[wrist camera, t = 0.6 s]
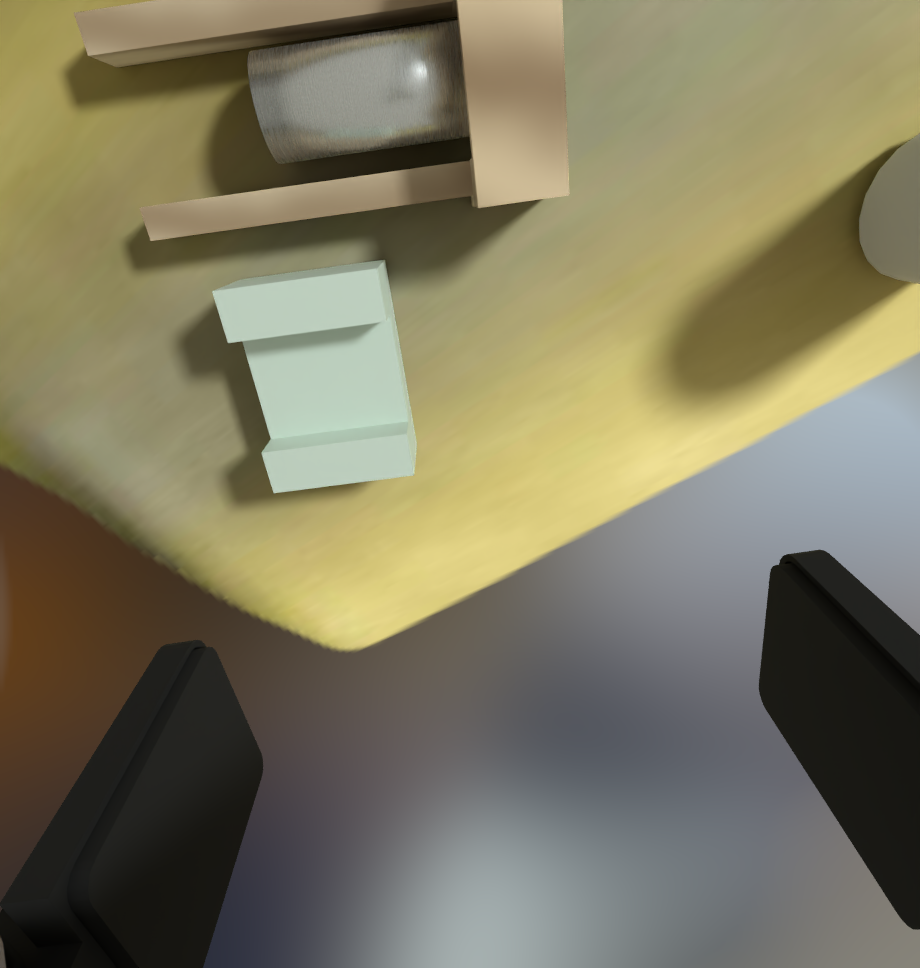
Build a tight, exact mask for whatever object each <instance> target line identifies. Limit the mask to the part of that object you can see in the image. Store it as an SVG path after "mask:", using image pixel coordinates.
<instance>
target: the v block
mask: <svg viewBox="0 0 920 968" xmlns="http://www.w3.org/2000/svg"><path fill="white" fill-rule="evenodd" d="M212 292H213V296H214V299H215V302H216V305H217V309H218V312H219V315H220V319H221V322H222V325H223V328H224V332H225V335H226V338H227V342H228V343H233V342H240V341H242V342H243V345H244V349H245V352H246V356H247V359H248V363H249V366H250V369H251V373H252V376H253V380H254V383H255V386H256V390H257V393H258V397H259V400H260V404H261V407H262V410H263V414H264V417H265V421H266V424H267V427H268V431H269V434H270V438H271V440H270V441H269V443H268V444H267V446H266V447H265V448H264V450H263V451H262V457H263V460H264V463H265V466H266V470H267V473H268V476H269V480H270V483H271V486H272V489H273V493H280V492H288V491H295V490H303V489H311V488H319V487H327V486H334V485H342V484H350V483H358V482H366V481H373V480H381V479H389V478H397V477H404V476H412V475H414V471H415V460H416V449H417V442H416V437H415V431H414V425H413V419H412V413H411V408H410V402H409V396H408V390H407V384H406V379H405V373H404V367H403V361H402V355H401V350H400V344H399V338H398V332H397V326H396V321H395V315H394V309H393V303H392V297H391V291H390V286H389V280H388V274H387V268H386V262H385V259H384V260H377V261H370V262H363V263H356V264H348V265H341V266H334V267H327V268H319V269H312V270H305V271H298V272H291V273H283V274H276V275H269V276H262V277H255V278H247V279H241V280H238V281H236V282H233V283H231V284H229V285H226V286H224V287H221V288H219V289H216V290H214V291H212Z"/></svg>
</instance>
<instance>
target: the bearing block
mask: <svg viewBox="0 0 920 968" xmlns="http://www.w3.org/2000/svg"><path fill="white" fill-rule="evenodd" d="M74 15H75V18H76V21H77V24H78V27H79V30H80V33H81V36H82V39H83V42H84V45H85V48H86V51H87V54H88V56H90V57H92V58H95V59H97V60H100V61H102V62H105V63H107V64H110V65H112V66H114V67H124V66H130V65H137V64H144V63H150V62H157V61H164V60H171V59H177V58H184V57H191V56H197V55H204V54H211V53H217V52H224V51H231V50H238V49H244V48H251V47H258V46H264V45H271V44H278V43H284V42H291V41H298V40H305V39H311V38H318V37H325V36H331V35H338V34H345V33H351V32H358V31H365V30H372V29H378V28H385V27H392V26H398V25H405V24H412V23H418V22H425V21H432V20H439V19H445V18H452V17H458V26H459V35H460V45H461V55H462V65H463V75H464V85H465V94H466V104H467V114H468V124H469V134H470V143H471V153H472V158H471V159H470V160H469V161H462V162H455V163H448V164H441V165H434V166H427V167H420V168H413V169H406V170H399V171H392V172H385V173H378V174H371V175H364V176H357V177H350V178H343V179H336V180H329V181H322V182H315V183H308V184H301V185H294V186H287V187H280V188H273V189H266V190H259V191H252V192H245V193H238V194H231V195H224V196H217V197H210V198H203V199H196V200H189V201H182V202H175V203H168V204H161V205H154V206H147V207H140V211H141V214H142V217H143V220H144V223H145V226H146V229H147V231H148V234H149V237H150V240H151V241H155V240H162V239H169V238H176V237H183V236H190V235H197V234H204V233H211V232H218V231H226V230H233V229H240V228H247V227H254V226H261V225H268V224H275V223H282V222H289V221H296V220H304V219H311V218H318V217H325V216H332V215H339V214H346V213H353V212H360V211H367V210H375V209H382V208H389V207H396V206H403V205H410V204H417V203H424V202H431V201H438V200H446V199H453V198H460V197H467V196H471V205H472V206H473V207H476V208H482V207H489V206H496V205H503V204H510V203H518V202H525V201H532V200H539V199H546V198H553V197H560V196H567V195H569V170H568V143H567V116H566V89H565V62H564V35H563V9H562V0H155V1H148V2H142V3H135V4H129V5H122V6H115V7H109V8H102V9H96V10H89V11H83V12H76V13H74Z"/></svg>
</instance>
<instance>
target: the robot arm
mask: <svg viewBox="0 0 920 968" xmlns="http://www.w3.org/2000/svg"><path fill="white" fill-rule="evenodd" d="M759 692H760V696H761V700H762V702H763V705H764V707H765V709H766V710H767V712H768V713H769V715H770V716H771V718H772V720H773V721H774V722H775V724H776V726H777V727H778V729H779V730H780V732H781V734H782V735H783V737H784V738H785V739H786V741H787V743H788V744H789V746H790V748H791V749H792V751H793V752H794V754H795V755H796V757H797V758H798V760H799V761H800V763H801V765H802V766H803V768H804V769H805V771H806V772H807V774H808V776H809V777H810V779H811V780H812V782H813V783H814V785H815V786H816V788H817V789H818V791H819V793H820V794H821V795H822V797H823V799H824V800H825V802H826V803H827V805H828V806H829V808H830V809H831V811H832V813H833V814H834V816H835V817H836V819H837V821H838V822H839V824H840V825H841V827H842V828H843V830H844V831H845V833H846V835H847V836H848V838H849V839H850V841H851V842H852V844H853V845H854V847H855V848H856V850H857V852H858V853H859V855H860V856H861V857H862V859H863V861H864V862H865V864H866V866H867V867H868V869H869V870H870V872H871V873H872V875H873V876H874V878H875V879H876V881H877V883H878V884H879V886H880V887H881V889H882V890H883V892H884V893H885V895H886V897H887V898H888V900H889V901H890V903H891V904H892V906H893V907H894V909H895V911H896V912H897V914H898V915H899V916H900V918H901V919H902V920H903V921H904V922H905V923H906V924H907V925H908V926H909V927H910V928H912V929H920V635H919V634H918V633H917V632H915V631H914V630H913V629H912V628H911V627H910V626H909V625H908V624H907V623H906V622H904V621H903V620H902V619H901V618H900V617H899V616H898V615H897V614H896V613H894V612H893V611H892V610H891V609H890V608H889V607H888V606H887V605H885V604H884V603H883V602H882V601H881V600H880V599H879V598H878V597H877V596H875V595H874V594H873V593H872V592H871V591H870V590H869V589H868V588H867V587H865V586H864V585H863V584H862V583H861V582H860V581H859V580H858V579H857V578H855V577H854V576H853V575H852V574H851V573H850V572H849V571H848V570H847V569H846V568H844V567H843V566H842V565H841V564H840V563H839V562H838V561H837V560H836V559H835V558H833V557H832V556H831V555H830V554H829V553H827V552H826V551H823V550H815V551H809V552H801V553H794V554H787V555H784V556H783V557H782V558H781V560H780V563H779V565H775V566H773V567H772V569H771V572H770V580H769V589H768V600H767V609H766V619H765V629H764V639H763V649H762V659H761V668H760V679H759ZM262 773H263V759H262V754H261V752H260V749H259V747H258V745H257V742H256V740H255V738H254V736H253V734H252V731H251V729H250V727H249V724H248V723H247V720H246V718H245V716H244V713H243V711H242V709H241V706H240V704H239V702H238V700H237V697H236V695H235V693H234V691H233V688H232V686H231V684H230V681H229V680H228V677H227V675H226V673H225V670H224V668H223V666H222V663H221V661H220V659H219V657H218V654H217V652H216V651H215V650H214V649H213V648H212V647H206V646H205V644H204V643H203V642H202V641H200V640H194V641H187V642H181V643H173V644H166V645H164V646H162V647H161V648H160V649H159V650H158V652H157V653H156V655H155V657H154V658H153V660H152V661H151V663H150V664H149V666H148V668H147V669H146V671H145V672H144V674H143V676H142V677H141V679H140V680H139V682H138V684H137V685H136V687H135V688H134V690H133V691H132V693H131V695H130V696H129V698H128V700H127V701H126V703H125V704H124V706H123V708H122V709H121V711H120V712H119V714H118V716H117V717H116V719H115V720H114V722H113V724H112V725H111V727H110V728H109V730H108V731H107V733H106V735H105V736H104V738H103V739H102V741H101V743H100V744H99V746H98V747H97V749H96V751H95V752H94V754H93V755H92V757H91V759H90V760H89V762H88V763H87V765H86V767H85V768H84V770H83V771H82V773H81V775H80V776H79V778H78V780H77V781H76V783H75V784H74V786H73V787H72V789H71V791H70V792H69V794H68V796H67V797H66V799H65V800H64V802H63V803H62V805H61V807H60V808H59V810H58V812H57V813H56V815H55V816H54V818H53V819H52V821H51V823H50V824H49V826H48V827H47V829H46V831H45V832H44V834H43V835H42V837H41V839H40V840H39V842H38V843H37V845H36V847H35V848H34V850H33V851H32V853H31V854H30V856H29V858H28V860H27V861H26V862H25V864H24V866H23V867H22V869H21V870H20V872H19V874H18V875H17V877H16V878H15V880H14V882H13V883H12V885H11V887H10V888H9V890H8V891H7V893H6V895H5V896H4V898H3V899H2V901H1V902H0V906H1V907H2V908H3V909H2V911H1V912H0V968H203V966H204V962H205V959H206V956H207V953H208V950H209V946H210V943H211V940H212V937H213V933H214V930H215V927H216V924H217V920H218V917H219V914H220V911H221V907H222V904H223V901H224V898H225V894H226V891H227V888H228V885H229V881H230V878H231V875H232V872H233V868H234V865H235V862H236V859H237V855H238V852H239V848H240V845H241V842H242V839H243V836H244V833H245V830H246V826H247V823H248V820H249V816H250V813H251V810H252V807H253V804H254V800H255V797H256V794H257V791H258V787H259V784H260V781H261V777H262Z"/></svg>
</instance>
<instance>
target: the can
mask: <svg viewBox="0 0 920 968" xmlns="http://www.w3.org/2000/svg"><path fill="white" fill-rule="evenodd" d="M859 236H860V244H861V246H862V249H863V252H864V254H865V257H866V259H867V261H868V262H869V263H870V264H871V265H872V266H873V267H874V268H875V269H876V270H877V271H878V272H879V273H880V274H883V275H886V276H889V277H891V278H894V279H897V280H901V281H907V282H912V283H918V284H920V133H919V134H918V135H917V136H915V137H914V138H912V139H911V140H909V141H908V142H907V143H905V144H904V145H902V146H901V147H899V148H898V149H897V150H896V151H895V153H894V154H893V155H892V156H891V157H890V158H889V159H888V160H887V162H886V163H885V164H884V165H883V166H882V167H881V168H880V169H879V171H878V173H877V175H876V176H875V178H874V180H873V182H872V184H871V185H870V187H869V189H868V191H867V193H866V195H865V199H864V202H863V206H862V210H861V214H860V217H859Z"/></svg>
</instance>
